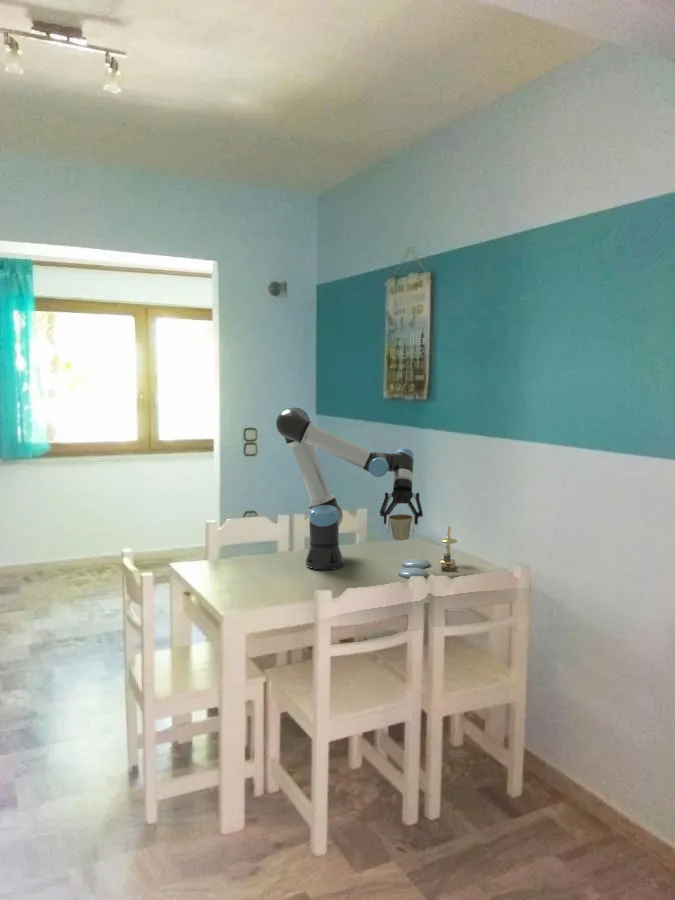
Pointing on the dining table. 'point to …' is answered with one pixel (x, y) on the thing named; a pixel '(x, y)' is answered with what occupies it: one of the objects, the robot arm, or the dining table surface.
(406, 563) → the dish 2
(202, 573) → the dining table surface
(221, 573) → the dining table surface
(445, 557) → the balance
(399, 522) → the flower pot
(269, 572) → the dining table surface
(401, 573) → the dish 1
